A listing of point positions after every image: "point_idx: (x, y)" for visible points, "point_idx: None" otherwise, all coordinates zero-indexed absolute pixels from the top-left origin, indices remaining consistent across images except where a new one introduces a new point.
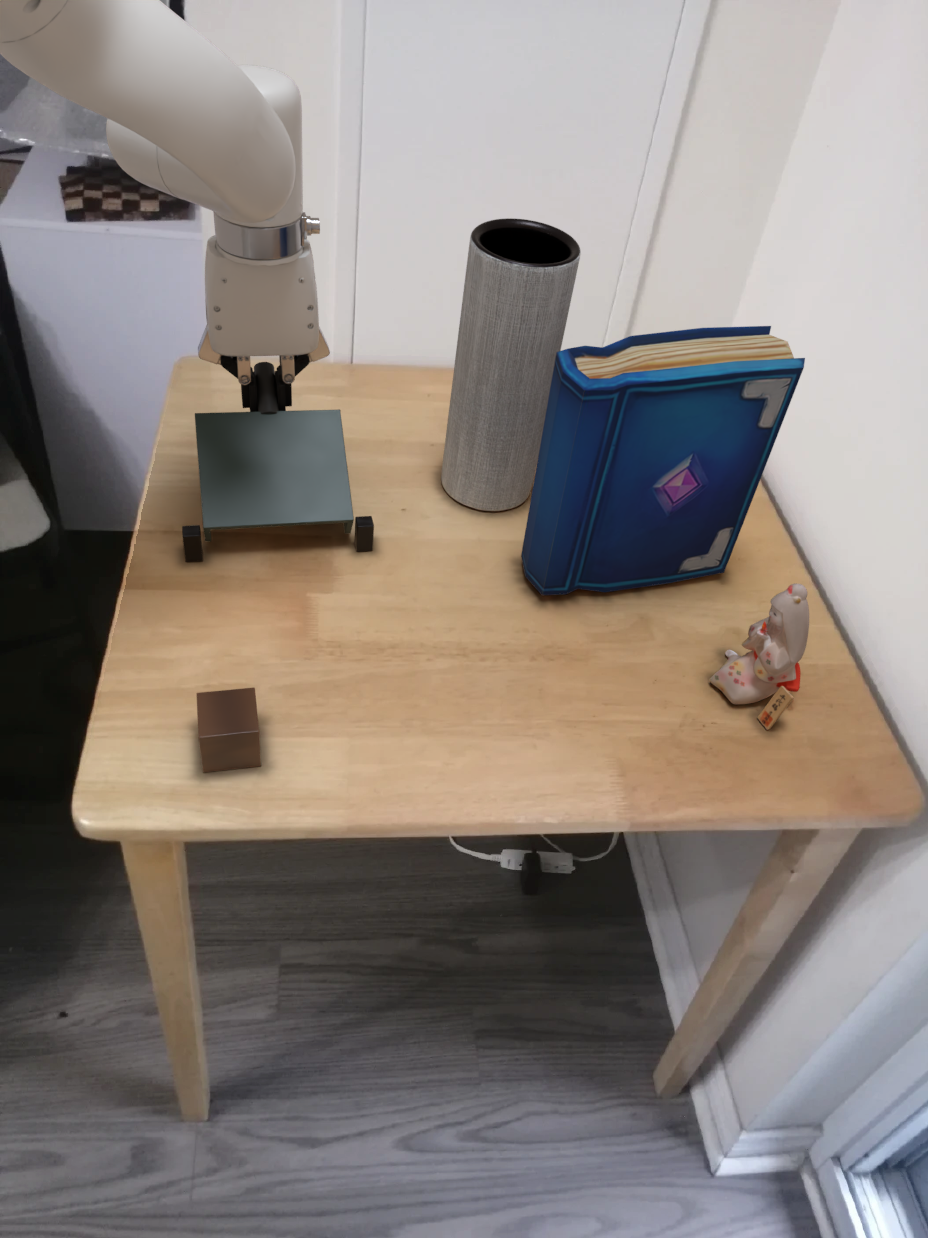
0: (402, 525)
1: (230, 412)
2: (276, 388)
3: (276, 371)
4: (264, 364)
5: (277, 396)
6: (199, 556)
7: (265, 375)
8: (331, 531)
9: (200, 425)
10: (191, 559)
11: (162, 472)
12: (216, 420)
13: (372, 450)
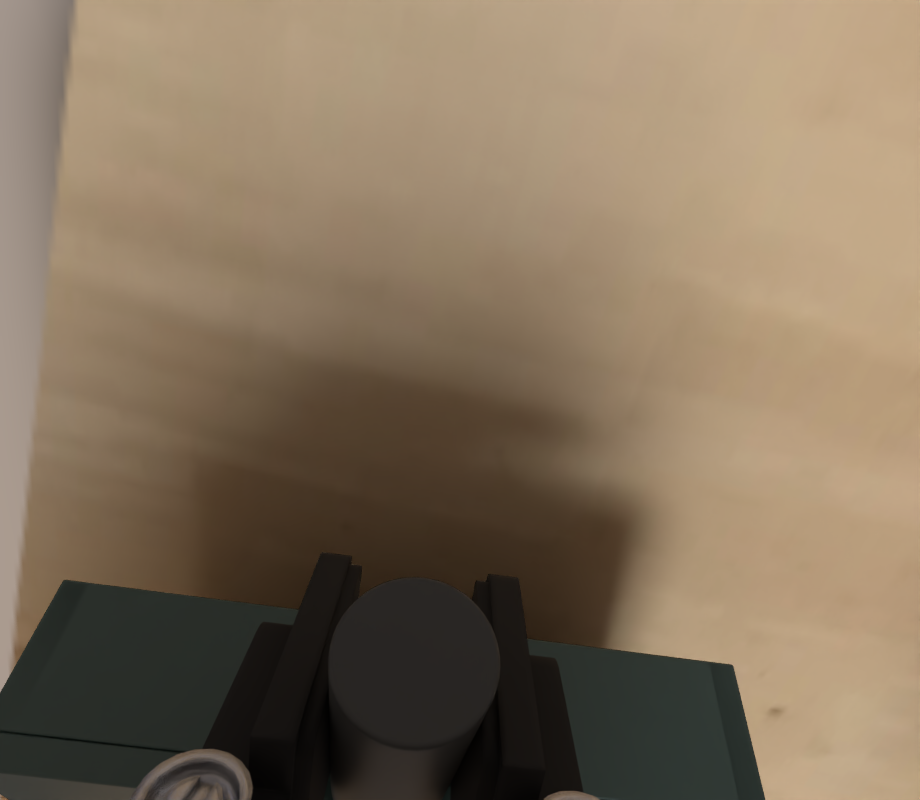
0: None
1: None
2: (464, 767)
3: (492, 780)
4: (404, 756)
5: (454, 794)
6: None
7: (395, 789)
8: None
9: (16, 791)
10: None
11: (50, 386)
12: (95, 794)
13: (839, 417)
